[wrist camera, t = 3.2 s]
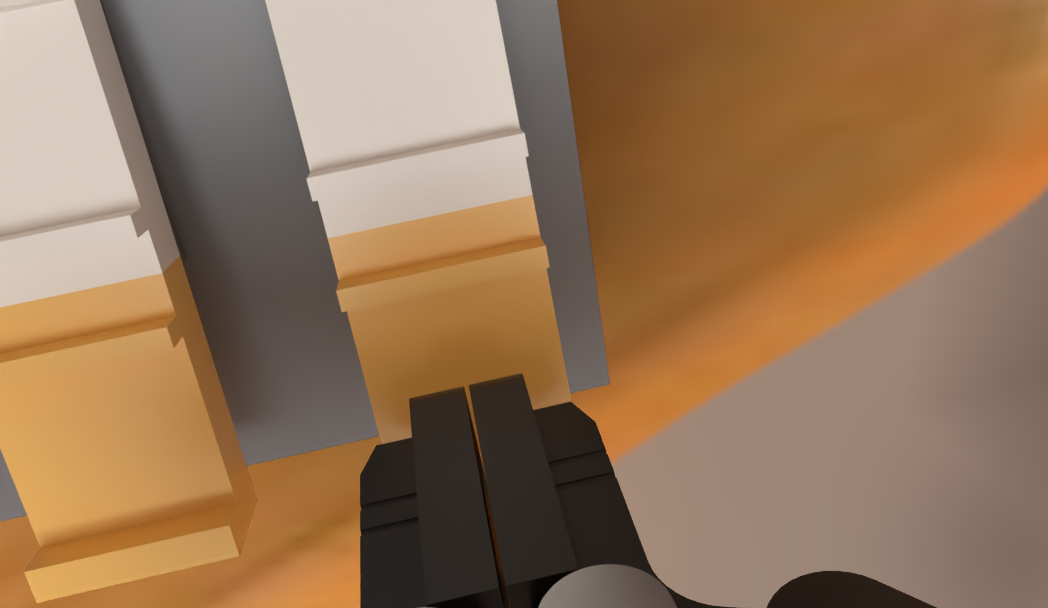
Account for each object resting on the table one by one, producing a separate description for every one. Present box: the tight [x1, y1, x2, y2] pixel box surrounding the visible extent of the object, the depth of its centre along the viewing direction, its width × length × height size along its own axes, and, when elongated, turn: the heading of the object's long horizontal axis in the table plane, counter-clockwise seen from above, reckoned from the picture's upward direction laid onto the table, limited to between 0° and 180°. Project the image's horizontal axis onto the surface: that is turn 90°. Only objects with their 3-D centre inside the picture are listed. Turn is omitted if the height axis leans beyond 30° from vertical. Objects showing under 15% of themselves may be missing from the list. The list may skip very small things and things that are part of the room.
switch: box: [265, 0, 572, 478], centre depth 13 cm, size 8×3×2 cm, turn 9°
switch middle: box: [0, 0, 257, 603], centre depth 12 cm, size 8×3×2 cm, turn 9°
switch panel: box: [0, 0, 610, 521], centre depth 15 cm, size 10×15×5 cm
